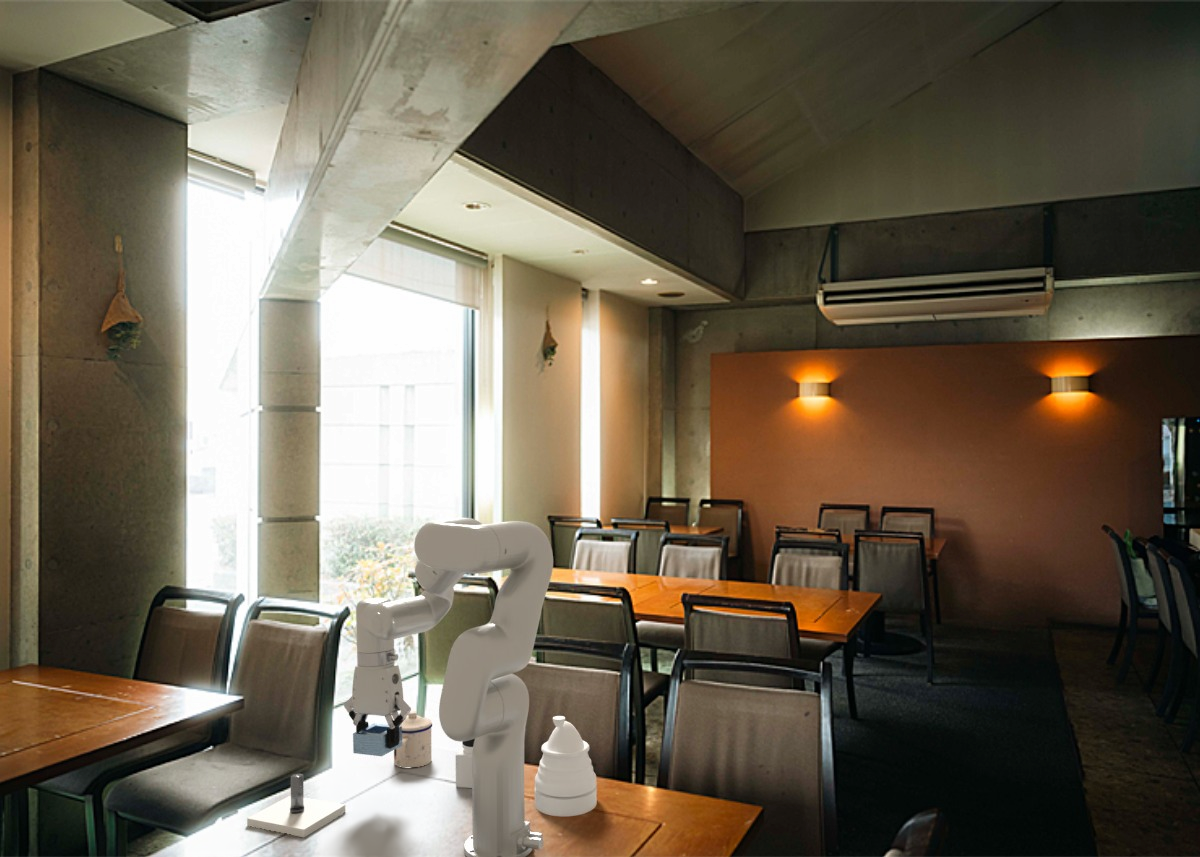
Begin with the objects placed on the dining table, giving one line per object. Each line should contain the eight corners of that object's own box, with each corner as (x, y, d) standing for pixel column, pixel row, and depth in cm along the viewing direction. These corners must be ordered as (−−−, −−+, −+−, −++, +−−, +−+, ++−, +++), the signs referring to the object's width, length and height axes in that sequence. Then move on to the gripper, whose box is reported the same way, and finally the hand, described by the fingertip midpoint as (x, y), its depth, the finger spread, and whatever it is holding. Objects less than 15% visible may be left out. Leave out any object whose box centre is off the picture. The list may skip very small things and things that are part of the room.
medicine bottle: (486, 789, 183) (486, 733, 183) (455, 787, 184) (454, 731, 184) (497, 777, 190) (496, 723, 190) (466, 775, 191) (466, 721, 191)
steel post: (307, 809, 170) (307, 774, 170) (297, 815, 167) (297, 779, 167) (296, 807, 171) (296, 772, 171) (286, 813, 168) (286, 777, 168)
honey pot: (570, 822, 166) (569, 729, 167) (521, 806, 174) (521, 717, 175) (609, 800, 177) (608, 713, 177) (561, 786, 184) (561, 702, 185)
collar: (402, 745, 178) (401, 726, 178) (381, 756, 172) (381, 736, 172) (374, 742, 181) (374, 723, 181) (353, 753, 174) (353, 733, 174)
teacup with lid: (400, 754, 204) (400, 706, 205) (437, 755, 203) (437, 706, 204) (382, 773, 193) (382, 721, 193) (421, 774, 192) (420, 722, 192)
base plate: (345, 812, 172) (345, 804, 172) (303, 837, 161) (303, 829, 161) (291, 802, 177) (291, 794, 177) (247, 825, 166) (247, 818, 166)
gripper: (421, 656, 177) (423, 742, 176) (353, 652, 184) (355, 735, 183) (399, 664, 170) (402, 754, 169) (330, 660, 177) (332, 746, 176)
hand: (377, 744), depth 176 cm, fingers closed on collar, 7 cm apart
